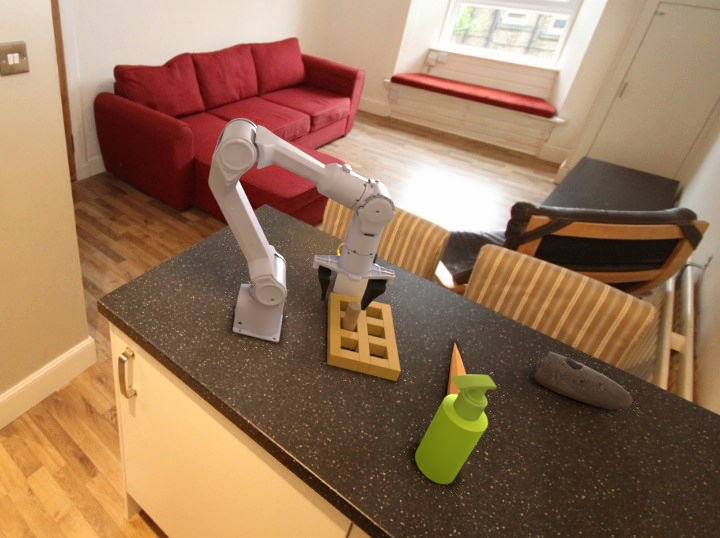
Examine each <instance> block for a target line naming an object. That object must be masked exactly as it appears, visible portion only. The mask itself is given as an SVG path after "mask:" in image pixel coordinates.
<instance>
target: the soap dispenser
mask: <svg viewBox="0 0 720 538" xmlns="http://www.w3.org/2000/svg"><path fill="white" fill-rule="evenodd" d="M451 378H452V379H453V381H454V383H455V384H456V386H457V387H458V389H459V390H461V391H460V392H459V394H458V395H457V394H452V395H448V396H447V395H446V396H445V397H444V398H443V400H442V402H441V404H440V405H439V407H438V408H437V411H436V412H435V415H434V417H433V419H432V421H431V422H430V424H429V426H428V427H427V430H426V432H425V434H424V436H423V438H422V439H421V441H420V444H419V446H418V447H417V449H416V450H415V453H414V459H415V463H416V465H417V467H418V469H419V471H420V472H421V473H422V474H423V475H424V476H425V477H426V478H428V479H429V480H431V481H432V482H434V483H436V484H440V485H448V484H451V483H453V481H454V480H455V479H456V477H457V476H458V474H459V473H460V471H461V469H462V467H463V466H464V464H465V463H466V462H467V460H468V459H469V456H470V454H471V453H472V451H474V449H475V447H476V445H477V444H478V442H479V441H480V439H481V437H483V436H482V435H483V434H484V433H485V431H486V430H487V428H488V425H489V420H488V417H487V415H486V413H485V409H486V408H487V406H488V399H487V397H486V395H485V394H486V392H487V391H488V390H496V389H497V387H498V386H497V385H496V384H495V382H494V381H493V379H492V377H491V376H490V375H489V374H479V373H477V374H474V373H473V374H472V373H471V374H466V375H459V376H454V377H451Z"/></svg>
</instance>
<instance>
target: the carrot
mask: <svg viewBox="0 0 720 538" xmlns="http://www.w3.org/2000/svg"><path fill="white" fill-rule="evenodd" d="M459 375H467V372H466V369H465V366H464V362H463V360H462V357H461V354H460V351H459V349H458V346H457V344H456V342H454V344H453V350H452V354H451V358H450V368H449V376H448V385H447V391H446V396H448V395H452V394H457V395H458V394H459V392H460V391H461V390H459V389H458V387H457V386H456V384H455V383H454V381H453V379H452V378H451V377H454V376H459Z"/></svg>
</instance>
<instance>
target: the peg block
mask: <svg viewBox="0 0 720 538" xmlns="http://www.w3.org/2000/svg"><path fill="white" fill-rule="evenodd" d="M361 300H362V299H360V298H355V297H351V296H346V295H342V294H338V293H335V292H333V291H330V293H329V297H328V300H327V341H326V342H327V344H326V345H327V347H326V348H327V349H326V364H327V365H330V366H334V367H337V368H340V369H341V368H342V369H346V370H348V371H349V370H350V371H353V372H358V373H362V374H365V375H369V376H373V377H377V378H381V379H386V380H390V381H393V382H397V381H398V378H399V376H400V374H401V364H400V359H399V353H398V345H397V340H396V334H395V327H394V322H393V321H394V320H393V314H392V308H391V305H390V304H387V303H384V302H383V303H382V302H378V301H375V300H373V301H372V302H371V303H370V304H369V306H368V307H367V308H366V310H365V311H363V310H361V311H360V314H359V317H358V320H357V323H356V326H355V329H354V332H352V331H348V330H343V329H341V325H342V322H343V319H344V316H345V313H346V309H347V306H348V303H349V302H351V301H354V302H357V303H359V304H360V305H361ZM341 347H342V348H341ZM343 348H347V349H350V350H347V349H343ZM351 350H354V351H351ZM370 354H371V355H370ZM372 355H375V356H372ZM376 356H378V357H376ZM380 357H382V358H380Z"/></svg>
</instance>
